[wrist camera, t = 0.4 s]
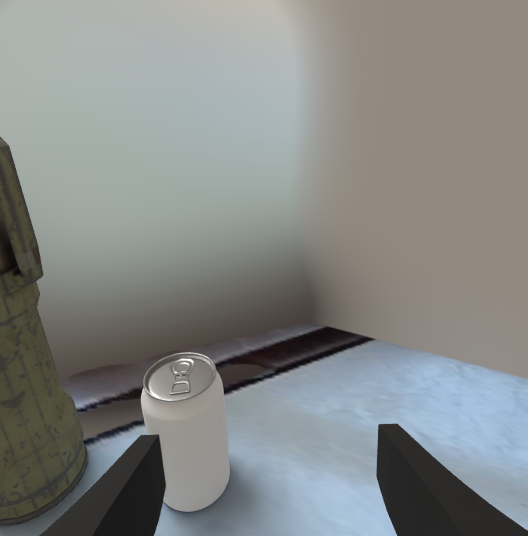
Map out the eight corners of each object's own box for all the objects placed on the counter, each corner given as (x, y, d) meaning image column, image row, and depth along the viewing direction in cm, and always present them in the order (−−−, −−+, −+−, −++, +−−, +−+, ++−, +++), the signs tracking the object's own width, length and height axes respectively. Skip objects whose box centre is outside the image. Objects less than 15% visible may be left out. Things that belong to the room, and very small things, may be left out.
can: (228, 443, 35) (219, 345, 30) (233, 507, 29) (224, 398, 24) (162, 453, 34) (144, 353, 29) (154, 522, 28) (129, 411, 23)
